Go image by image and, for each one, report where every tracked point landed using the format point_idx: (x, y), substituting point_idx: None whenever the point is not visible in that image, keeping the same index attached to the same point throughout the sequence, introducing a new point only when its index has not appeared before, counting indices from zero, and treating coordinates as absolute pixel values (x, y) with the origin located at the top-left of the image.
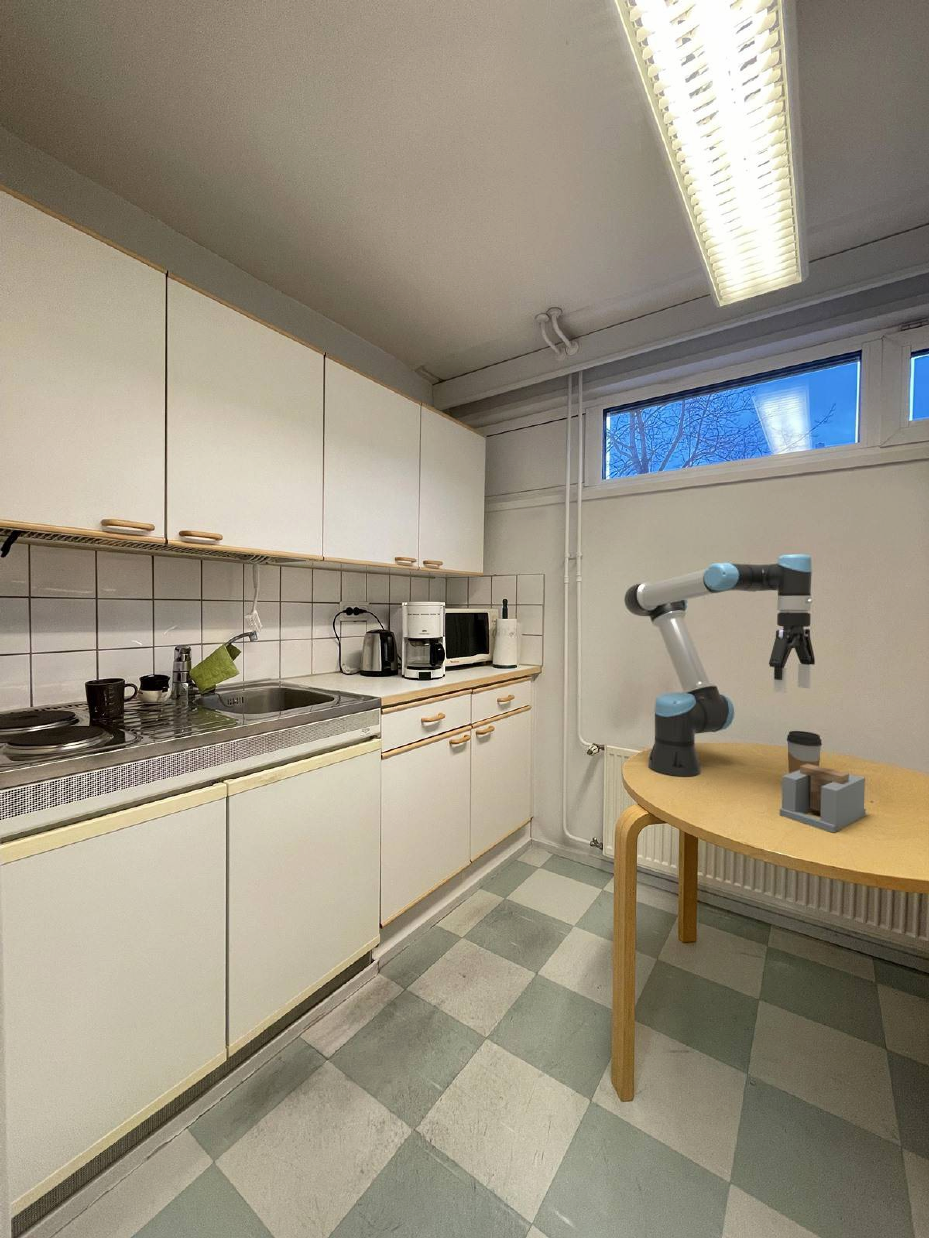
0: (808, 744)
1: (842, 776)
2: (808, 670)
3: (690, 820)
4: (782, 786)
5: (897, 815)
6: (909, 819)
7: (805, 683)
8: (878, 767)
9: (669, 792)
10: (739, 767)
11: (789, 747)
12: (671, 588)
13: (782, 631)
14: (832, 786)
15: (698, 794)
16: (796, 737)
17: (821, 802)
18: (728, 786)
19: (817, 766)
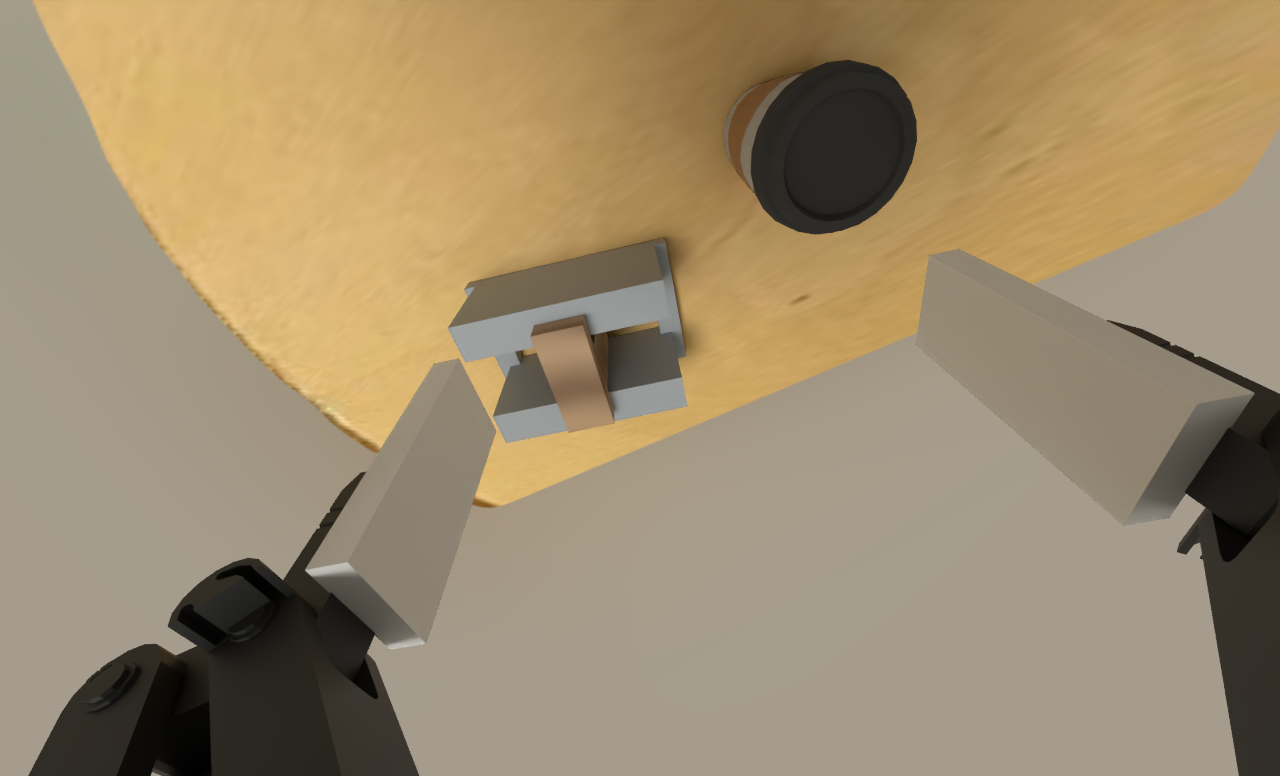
0: (770, 214)
1: (571, 431)
2: (1054, 458)
3: (169, 227)
4: (457, 314)
5: (752, 369)
6: (749, 388)
7: (948, 340)
8: (1264, 82)
9: None
10: None
11: (761, 113)
12: None
13: None
14: (526, 422)
15: (293, 43)
16: (768, 166)
17: (502, 392)
18: (478, 12)
19: (587, 356)
